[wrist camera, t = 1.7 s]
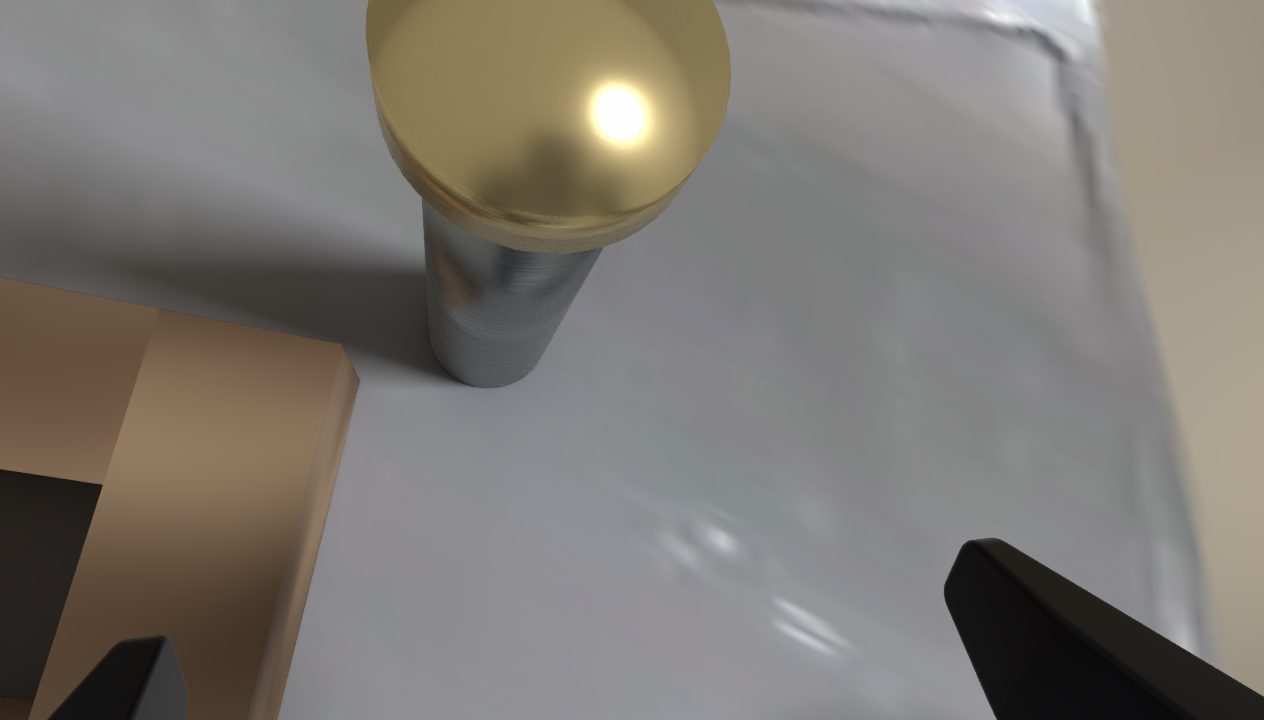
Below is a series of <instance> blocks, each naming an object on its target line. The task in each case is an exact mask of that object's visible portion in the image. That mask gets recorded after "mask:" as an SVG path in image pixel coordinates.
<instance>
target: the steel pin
mask: <svg viewBox="0 0 1264 720" xmlns="http://www.w3.org/2000/svg"><path fill="white" fill-rule="evenodd" d="M366 41H367V49H368V58H369V64H370V71H371V78H372V85H373V91H374V98H375V105H376V112H377V117H378V121H379V124H380V128H381V132H382V135H383V138H384V140H385V142H386V145H387V147H388V149H389V152H390V154H391V156H392V158H393V159H394V161H395V163H396V164H397V166H398V168H399V169H400V171H401V173H402V174H403V176H404V177H405V178H406V179H407V181H408V182H409V183H410V184H411V186H412V187H413V188H414V189H415V191H416V192H417V193H418V194H419V195H420V196H421V197H422V208H423V228H424V247H425V267H426V286H427V306H428V326H429V338H430V344H431V347H432V350H433V352H434V355H435V357H436V358H437V360H438V362H439V363H440V364H441V366H442V367H443V368H444V369H445V370H446V371H447V372H448V373H449V374H450V375H452V376H453V377H454V378H456V379H458V380H459V381H461V382H463V383H466V384H468V385H471V386H475V387H481V388H497V387H503V386H507V385H510V384H512V383H515V382H517V381H518V380H520V379H522V378H523V377H524V376H526V375H527V374H528V373H529V372H530V371H531V370H532V369H533V368H534V367H535V366H536V364H537V363H538V361H539V360H540V358H541V356H542V354H543V353H544V351H545V349H546V347H547V346H548V344H549V342H550V340H551V339H552V337H553V335H554V333H555V332H556V330H557V328H558V326H559V325H560V323H561V321H562V319H563V318H564V316H565V314H566V312H567V311H568V309H569V307H570V305H571V304H572V302H573V300H574V298H575V297H576V295H577V293H578V291H579V290H580V288H581V286H582V284H583V283H584V281H585V279H586V277H587V276H588V274H589V272H590V270H591V269H592V267H593V265H594V263H595V262H596V260H597V258H598V256H599V254H600V253H601V251H602V249H603V247H604V246H607V245H610V244H613V243H615V242H618V241H621V240H623V239H625V238H627V237H629V236H630V235H632V234H634V233H636V232H638V231H640V230H641V229H642V228H644V227H645V226H646V225H648V224H649V223H651V222H652V221H653V220H655V219H656V218H657V217H658V216H659V215H660V214H661V213H662V212H663V211H664V210H665V209H666V208H667V207H668V206H669V204H670V203H671V202H672V201H673V199H674V198H675V197H676V195H677V194H678V193H679V191H680V190H681V188H682V187H683V186H684V184H685V183H686V181H687V180H688V178H689V177H690V176H691V174H692V173H693V171H694V170H695V168H696V167H697V166H698V164H699V163H700V161H701V160H702V158H703V157H704V156H705V154H706V153H707V151H708V150H709V148H710V146H711V145H712V143H713V141H714V139H715V137H716V135H717V134H718V132H719V129H720V127H721V124H722V121H723V119H724V116H725V113H726V109H727V104H728V99H729V94H730V81H731V66H730V53H729V48H728V43H727V39H726V34H725V30H724V28H723V25H722V22H721V19H720V16H719V13H718V11H717V9H716V7H715V5H714V3H713V1H712V0H369V2H368V7H367V13H366Z"/></svg>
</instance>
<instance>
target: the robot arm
mask: <svg viewBox="0 0 1264 720" xmlns="http://www.w3.org/2000/svg"><path fill="white" fill-rule="evenodd" d="M944 597H945V602H946V605H947V607H948V610H949V612H950V614H951V617H952V619H953V621H954V623H955V626H956V628H957V630H958V633H959V635H960V637H961V640H962V642H963V644H964V647H965V649H966V651H967V654H968V656H969V658H970V660H971V663H972V665H973V667H974V670H975V672H976V674H977V677H978V679H979V681H980V684H981V686H982V688H983V691H984V693H985V695H986V697H987V700H988V702H989V704H990V706H991V708H992V710H993V713H994V715H995V717H996V719H997V720H1264V697H1263V696H1262V695H1260V694H1258V693H1257V692H1255V691H1253V690H1252V689H1250V688H1248V687H1246V686H1245V685H1243V684H1242V683H1240V682H1238V681H1237V680H1235V679H1233V678H1232V677H1230V676H1228V675H1227V674H1225V673H1223V672H1222V671H1220V670H1218V669H1217V668H1215V667H1213V666H1212V665H1210V664H1208V663H1207V662H1205V661H1203V660H1202V659H1200V658H1198V657H1197V656H1195V655H1193V654H1192V653H1190V652H1188V651H1187V650H1185V649H1183V648H1182V647H1180V646H1178V645H1177V644H1175V643H1173V642H1172V641H1170V640H1168V639H1166V638H1165V637H1163V636H1161V635H1160V634H1158V633H1156V632H1155V631H1153V630H1151V629H1150V628H1148V627H1146V626H1145V625H1143V624H1141V623H1140V622H1138V621H1136V620H1135V619H1133V618H1131V617H1130V616H1128V615H1126V614H1125V613H1123V612H1121V611H1120V610H1118V609H1116V608H1115V607H1113V606H1111V605H1110V604H1108V603H1106V602H1105V601H1103V600H1101V599H1100V598H1098V597H1096V596H1095V595H1093V594H1091V593H1090V592H1088V591H1086V590H1085V589H1083V588H1081V587H1080V586H1078V585H1076V584H1075V583H1073V582H1071V581H1070V580H1068V579H1066V578H1065V577H1063V576H1061V575H1060V574H1058V573H1056V572H1055V571H1053V570H1051V569H1050V568H1048V567H1046V566H1045V565H1043V564H1041V563H1039V562H1038V561H1036V560H1034V559H1033V558H1031V557H1029V556H1028V555H1026V554H1024V553H1023V552H1021V551H1019V550H1018V549H1016V548H1014V547H1013V546H1011V545H1009V544H1008V543H1006V542H1004V541H1002V540H1000V539H997V538H986V539H977V540H970V541H967V542H966V543H965V544H963V546H962V547H961V549H960V551H959V553H958V555H957V558H956V560H955V562H954V564H953V566H952V568H951V571H950V573H949V575H948V577H947V579H946V582H945V585H944ZM187 703H188V694H187V686H186V682H185V679H184V676H183V673H182V670H181V667H180V664H179V661H178V657H177V654H176V651H175V648H174V645H173V643H172V641H171V639H170V638H169V637H168V636H166V635H153V636H144V637H136V638H128V639H124V640H122V641H120V642H119V643H117V644H116V645H114V646H113V647H112V648H111V649H110V650H109V652H108V653H107V654H106V655H105V656H104V657H103V658H102V659H101V660H100V661H99V663H98V664H97V665H96V666H95V667H94V668H93V669H92V670H91V671H90V672H89V673H88V675H87V676H86V677H85V678H84V679H83V680H82V681H81V682H80V683H79V684H78V686H77V687H76V688H75V689H74V690H73V691H72V692H71V693H70V694H69V695H68V697H67V698H66V699H65V700H64V701H63V702H62V703H61V704H60V705H59V706H58V707H57V709H56V710H55V711H54V712H53V713H52V714H51V715H50V716H49V717H48V718H47V720H186V714H187Z"/></svg>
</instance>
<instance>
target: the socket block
mask: <svg viewBox="0 0 1264 720" xmlns="http://www.w3.org/2000/svg"><path fill="white" fill-rule="evenodd" d="M359 381H360V379H359V377H358V375H357V373H356V371H355V369H354V367H353V365H352V364H351V362H350V360H349V358H348V356H347V354H346V352H345V350H344V348H343V346H342V344H338V343H333V342H327V341H322V340H317V339H312V338H307V337H302V336H297V335H292V334H286V333H281V332H276V331H271V330H266V329H261V328H256V327H251V326H245V325H240V324H235V323H230V322H225V321H220V320H215V319H210V318H205V317H199V316H194V315H189V314H184V313H179V312H174V311H169V310H164V309H158V308H153V307H148V306H143V305H138V304H133V303H128V302H123V301H117V300H112V299H107V298H102V297H97V296H92V295H87V294H82V293H76V292H71V291H66V290H61V289H56V288H51V287H46V286H41V285H36V284H30V283H25V282H20V281H15V280H10V279H5V278H0V469H4V470H10V471H17V472H23V473H30V474H36V475H43V476H50V477H56V478H63V479H69V480H76V481H82V482H89V483H95V484H102V485H103V487H102V490H101V493H100V496H99V499H98V502H97V505H96V509H95V512H94V515H93V518H92V521H91V524H90V527H89V531H88V534H87V537H86V540H85V543H84V546H83V549H82V553H81V556H80V559H79V562H78V565H77V568H76V571H75V574H74V578H73V581H72V584H71V587H70V590H69V593H68V596H67V600H66V603H65V606H64V609H63V612H62V615H61V618H60V622H59V625H58V628H57V631H56V634H55V637H54V640H53V644H52V647H51V650H50V653H49V656H48V659H47V662H46V666H45V669H44V672H43V675H42V678H41V681H40V684H39V687H38V691H37V694H36V697H35V700H27V699H17V698H7V697H0V720H47V718H48V717H49V716H50V715H51V714H52V713H53V712H54V711H55V710H56V709H57V707H58V706H59V705H60V704H61V703H62V702H63V701H64V700H65V699H66V698H67V697H68V695H69V694H70V693H71V692H72V691H73V690H74V689H75V688H76V687H77V686H78V684H79V683H80V682H81V681H82V680H83V679H84V678H85V677H86V676H87V675H88V673H89V672H90V671H91V670H92V669H93V668H94V667H95V666H96V665H97V664H98V663H99V661H100V660H101V659H102V658H103V657H104V656H105V655H106V654H107V653H108V652H109V650H110V649H111V648H112V647H113V646H114V645H116V644H117V643H119V642H120V641H122V640H124V639H128V638H136V637H144V636H153V635H166V636H168V637H169V638H170V639H171V641H172V643H173V645H174V648H175V651H176V654H177V657H178V661H179V664H180V667H181V670H182V673H183V676H184V679H185V682H186V686H187V694H188V703H187V714H186V720H277V718H278V714H279V710H280V706H281V702H282V698H283V694H284V689H285V685H286V681H287V677H288V673H289V669H290V665H291V661H292V657H293V652H294V648H295V644H296V640H297V636H298V632H299V628H300V624H301V620H302V615H303V611H304V607H305V603H306V599H307V595H308V591H309V587H310V583H311V579H312V574H313V570H314V566H315V562H316V558H317V554H318V550H319V546H320V542H321V537H322V533H323V529H324V525H325V521H326V517H327V513H328V509H329V505H330V500H331V496H332V492H333V488H334V484H335V480H336V476H337V472H338V468H339V464H340V459H341V455H342V451H343V447H344V443H345V439H346V435H347V431H348V427H349V422H350V418H351V414H352V410H353V406H354V402H355V398H356V394H357V390H358V385H359Z"/></svg>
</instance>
